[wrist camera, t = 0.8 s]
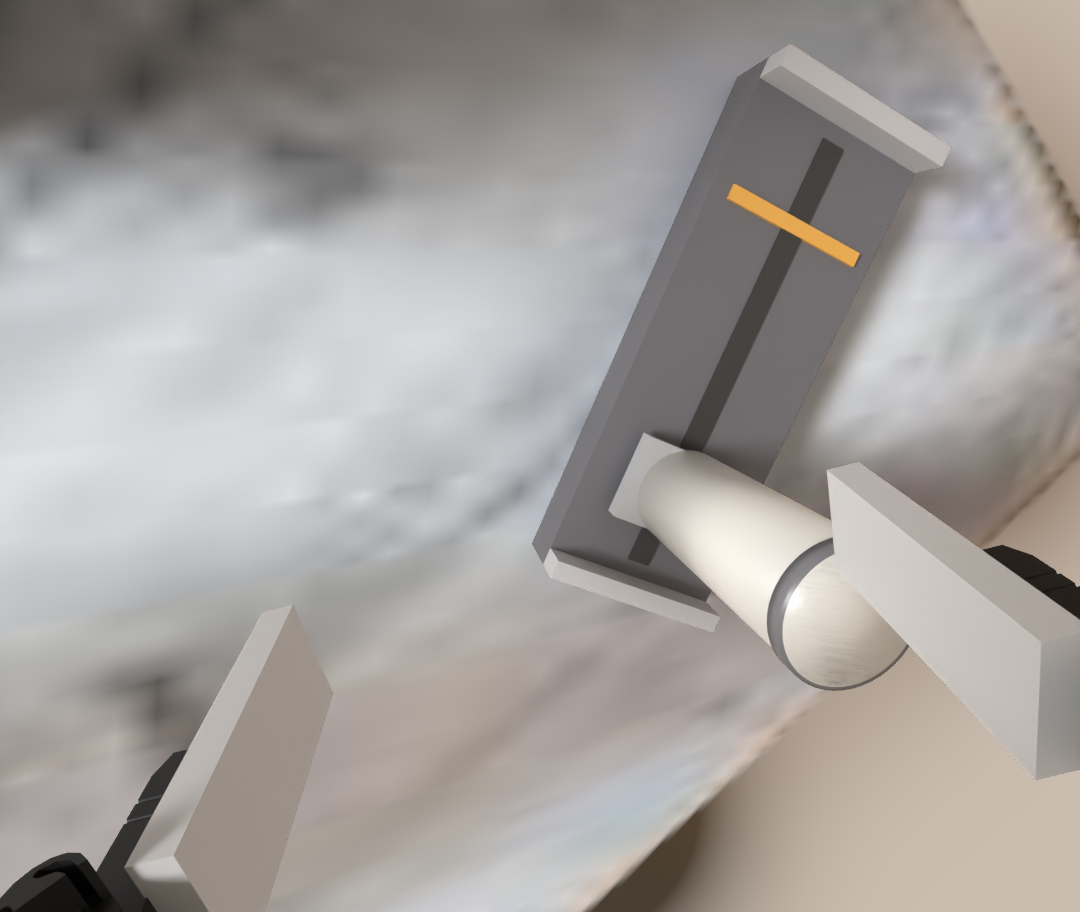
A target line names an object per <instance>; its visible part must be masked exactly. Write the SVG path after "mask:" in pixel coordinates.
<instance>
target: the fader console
mask: <svg viewBox="0 0 1080 912" xmlns="http://www.w3.org/2000/svg"><path fill="white" fill-rule="evenodd" d="M951 148H952V147H950V146H949V145H947V144H946V143H944V142H943V141H941V140H940V139H938V138H936V137H935V136H933V135H932V134H930V133H929V132H927V131H926V130H924V129H922V128H921V127H919V126H918V125H916V124H915V123H913V122H912V121H910V120H908V119H907V118H905V117H904V116H902V115H901V114H899V113H898V112H896V111H895V110H893V109H891V108H890V107H888V106H887V105H885V104H884V103H882V102H881V101H879V100H877V99H876V98H874V97H873V96H871V95H870V94H868V93H867V92H865V91H863V90H862V89H860V88H859V87H857V86H856V85H854V84H853V83H851V82H850V81H848V80H846V79H845V78H843V77H842V76H840V75H839V74H837V73H836V72H834V71H832V70H831V69H829V68H828V67H826V66H825V65H823V64H822V63H820V62H818V61H817V60H815V59H814V58H812V57H811V56H809V55H808V54H806V53H805V52H803V51H801V50H800V49H798V48H797V47H795V46H794V45H792V44H791V43H790V44H789V45H787V46H786V47H784V48H782V49H781V50H779V51H778V52H776V53H775V54H773V55H772V56H770V57H768V58H767V59H765V60H764V61H762V62H761V63H759V64H757V65H756V66H754V67H753V68H751V69H750V70H748V71H746V72H745V73H743V74H742V75H740V76H739V77H738V78H737V80H736V82H735V85H734V87H733V89H732V91H731V94H730V96H729V98H728V101H727V103H726V105H725V107H724V110H723V112H722V114H721V116H720V119H719V121H718V123H717V125H716V128H715V130H714V132H713V135H712V137H711V139H710V141H709V144H708V146H707V148H706V150H705V153H704V155H703V157H702V160H701V162H700V164H699V166H698V169H697V171H696V173H695V175H694V178H693V180H692V182H691V184H690V187H689V189H688V191H687V194H686V196H685V198H684V200H683V203H682V205H681V207H680V209H679V212H678V214H677V216H676V219H675V221H674V223H673V225H672V228H671V230H670V232H669V234H668V237H667V239H666V241H665V243H664V246H663V248H662V250H661V253H660V255H659V257H658V259H657V262H656V264H655V266H654V268H653V271H652V273H651V275H650V278H649V280H648V282H647V284H646V287H645V289H644V291H643V293H642V296H641V298H640V300H639V303H638V305H637V307H636V309H635V312H634V314H633V316H632V318H631V321H630V323H629V325H628V327H627V330H626V332H625V334H624V337H623V339H622V341H621V343H620V346H619V348H618V350H617V352H616V355H615V357H614V359H613V362H612V364H611V366H610V368H609V371H608V373H607V375H606V377H605V380H604V382H603V384H602V386H601V389H600V391H599V393H598V396H597V398H596V400H595V402H594V405H593V407H592V409H591V411H590V414H589V416H588V418H587V421H586V423H585V425H584V427H583V430H582V432H581V434H580V436H579V439H578V441H577V443H576V446H575V448H574V450H573V452H572V455H571V457H570V459H569V461H568V464H567V466H566V468H565V470H564V473H563V475H562V477H561V480H560V482H559V484H558V486H557V489H556V491H555V493H554V495H553V498H552V500H551V502H550V505H549V507H548V509H547V511H546V514H545V516H544V518H543V520H542V523H541V525H540V527H539V529H538V532H537V534H536V536H535V539H534V541H533V543H532V544H533V546H534V548H535V550H536V552H537V554H538V556H539V557H540V559H541V561H542V563H543V565H544V567H545V569H546V571H547V573H548V575H549V576H550V578H551V579H554V580H557V581H560V582H563V583H566V584H569V585H572V586H575V587H578V588H581V589H584V590H587V591H590V592H593V593H596V594H599V595H602V596H605V597H608V598H611V599H614V600H617V601H620V602H623V603H626V604H629V605H632V606H635V607H638V608H641V609H644V610H647V611H650V612H652V613H655V614H658V615H661V616H664V617H667V618H670V619H673V620H676V621H679V622H682V623H685V624H688V625H691V626H694V627H697V628H700V629H703V630H706V631H709V632H712V633H713V631H714V629H715V627H716V625H717V623H718V621H719V619H720V616H719V615H718V614H717V613H716V612H715V611H714V610H713V609H712V608H711V607H710V606H709V605H708V604H707V603H706V600H707V598H708V596H709V594H710V592H711V589H710V588H709V587H708V586H707V585H706V584H705V583H704V582H703V581H702V580H701V579H700V578H699V577H697V576H696V575H695V574H694V573H693V572H692V571H691V570H690V569H689V568H688V567H687V566H686V565H685V564H684V563H683V562H682V561H681V560H680V559H679V558H678V557H677V556H675V555H674V554H673V553H672V552H671V551H670V550H669V549H668V548H667V547H666V546H665V545H664V544H663V543H662V542H661V541H660V540H659V539H658V538H657V537H656V536H655V535H653V534H652V533H651V532H650V531H649V530H648V529H647V528H644V527H641V526H639V525H636V524H633V523H631V522H628V521H625V520H623V519H620V518H617V517H615V516H613V515H612V514H611V513H610V512H609V511H608V510H609V508H610V505H611V503H612V501H613V499H614V497H615V494H616V492H617V490H618V488H619V486H620V483H621V481H622V479H623V477H624V475H625V472H626V470H627V468H628V466H629V464H630V461H631V459H632V457H633V455H634V453H635V450H636V448H637V446H638V444H639V442H640V439H641V437H642V435H643V433H646V434H649V435H651V436H654V437H656V438H658V439H661V440H663V441H666V442H668V443H670V444H673V445H675V446H678V447H680V448H682V449H685V450H692V451H698V452H702V453H704V454H706V455H708V456H710V457H712V458H714V459H716V460H718V461H720V462H722V463H723V464H725V465H727V466H729V467H731V468H733V469H735V470H737V471H739V472H741V473H742V474H744V475H746V476H748V477H750V478H752V479H754V480H756V481H758V482H759V483H761V484H763V483H764V481H765V479H766V477H767V475H768V473H769V471H770V469H771V467H772V465H773V463H774V461H775V459H776V457H777V455H778V453H779V451H780V448H781V446H782V444H783V442H784V440H785V438H786V436H787V434H788V432H789V430H790V428H791V426H792V424H793V422H794V420H795V418H796V416H797V414H798V412H799V409H800V407H801V405H802V403H803V401H804V399H805V397H806V395H807V393H808V391H809V389H810V387H811V385H812V383H813V381H814V379H815V377H816V375H817V373H818V370H819V368H820V366H821V364H822V362H823V360H824V358H825V356H826V354H827V352H828V350H829V348H830V346H831V344H832V342H833V340H834V338H835V336H836V334H837V331H838V329H839V327H840V325H841V323H842V321H843V319H844V317H845V315H846V313H847V311H848V309H849V307H850V305H851V303H852V301H853V299H854V297H855V295H856V292H857V290H858V288H859V286H860V284H861V282H862V280H863V278H864V276H865V274H866V272H867V270H868V268H869V266H870V264H871V262H872V260H873V258H874V256H875V253H876V251H877V249H878V247H879V245H880V243H881V241H882V239H883V237H884V235H885V233H886V231H887V229H888V227H889V225H890V223H891V221H892V219H893V217H894V214H895V212H896V210H897V208H898V206H899V204H900V202H901V200H902V198H903V196H904V194H905V192H906V190H907V188H908V186H909V184H910V182H911V180H912V178H913V175H914V173H918V172H922V171H927V170H931V169H935V168H940V167H942V166H943V164H944V162H945V160H946V158H947V156H948V154H949V152H950V150H951Z"/></svg>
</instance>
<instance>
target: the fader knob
mask: <svg viewBox="0 0 1080 912" xmlns="http://www.w3.org/2000/svg"><path fill="white" fill-rule="evenodd" d="M608 511H609V512H610V513H611V514H612V515H613V516H615V517H617V518H620V519H623V520H625V521H628V522H631V523H633V524H636V525H639V526H641V527H644V528H647V529H648V530H649V531H650V532H651V533H652V534H653V535H655V536H656V537H657V538H658V539H659V540H660V541H661V542H662V543H663V544H664V545H665V546H666V547H667V548H668V549H669V550H670V551H671V552H672V553H673V554H674V555H675V556H677V557H678V558H679V559H680V560H681V561H682V562H683V563H684V564H685V565H686V566H687V567H688V568H689V569H690V570H691V571H692V572H693V573H694V574H695V575H696V576H697V577H699V578H700V579H701V580H702V581H703V582H704V583H705V584H706V585H707V586H708V587H709V588H710V589H711V590H712V591H713V592H714V593H715V594H716V595H717V596H718V597H719V598H720V599H722V600H723V601H724V602H725V603H726V604H727V605H728V606H729V607H730V608H731V609H732V610H733V611H734V612H735V613H736V614H737V615H738V616H739V617H740V618H741V619H742V620H744V621H745V622H746V623H747V624H748V625H749V626H750V627H751V628H752V629H753V630H754V631H755V632H756V633H757V634H758V635H759V636H760V637H761V638H762V639H763V640H764V641H766V642H767V643H768V644H769V645H770V646H771V647H772V649H773V650H774V652H775V654H776V655H777V657H778V658H779V659H780V660H781V662H782V663H783V664H784V665H785V666H786V667H787V668H788V669H789V670H790V671H791V672H792V673H794V674H795V675H796V676H797V677H798V678H799V679H800V680H802V681H803V682H805V683H807V684H808V685H811V686H813V687H815V688H819V689H823V690H832V691H837V690H846V689H852V688H856V687H859V686H862V685H864V684H866V683H869V682H871V681H873V680H874V679H876V678H878V677H879V676H881V675H882V674H884V673H885V672H886V671H887V670H889V669H890V668H891V667H892V666H893V665H894V664H895V663H896V662H897V661H898V660H899V659H900V658H901V657H902V655H903V654H904V653H905V651H906V650H907V649H908V647H909V645H908V644H907V643H906V642H905V641H904V640H903V639H902V638H901V637H900V636H899V635H898V633H897V632H896V631H895V630H894V629H893V628H892V627H891V626H890V625H889V624H888V623H887V622H886V621H885V620H884V619H883V617H882V616H881V615H880V614H879V613H878V612H877V611H876V610H875V609H874V608H873V607H872V606H871V605H870V604H869V603H868V602H867V600H866V599H865V598H864V597H863V596H862V595H861V594H860V593H859V592H858V591H857V590H856V589H855V588H854V587H853V586H852V585H851V583H850V582H849V581H848V580H847V579H846V578H845V577H844V576H843V575H842V574H841V573H840V572H839V571H838V570H837V569H836V565H835V555H834V544H833V533H832V522H831V520H829V519H827V518H826V517H824V516H822V515H820V514H818V513H816V512H814V511H812V510H810V509H809V508H807V507H805V506H803V505H801V504H799V503H797V502H795V501H793V500H792V499H790V498H788V497H786V496H784V495H782V494H780V493H778V492H776V491H775V490H773V489H771V488H769V487H767V486H765V485H763V484H761V483H759V482H758V481H756V480H754V479H752V478H750V477H748V476H746V475H744V474H742V473H741V472H739V471H737V470H735V469H733V468H731V467H729V466H727V465H725V464H723V463H722V462H720V461H718V460H716V459H714V458H712V457H710V456H708V455H706V454H704V453H702V452H698V451H692V450H685V449H682V448H680V447H678V446H675V445H673V444H670V443H668V442H666V441H663V440H661V439H658V438H656V437H654V436H651V435H649V434H646V433H643V435H642V437H641V439H640V442H639V444H638V446H637V448H636V450H635V453H634V455H633V457H632V459H631V461H630V464H629V466H628V468H627V470H626V472H625V475H624V477H623V479H622V481H621V483H620V486H619V488H618V490H617V492H616V494H615V497H614V499H613V501H612V503H611V505H610V508H609V510H608Z"/></svg>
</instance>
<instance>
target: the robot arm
mask: <svg viewBox="0 0 1080 912" xmlns="http://www.w3.org/2000/svg"><path fill="white" fill-rule="evenodd" d="M827 478H828V489H829V500H830V511H831V522H832V533H833V544H834V555H835V565H836V569H837V570H838V571H839V572H840V573H841V574H842V575H843V576H844V577H845V578H846V579H847V580H848V581H849V582H850V583H851V585H852V586H853V587H854V588H855V589H856V590H857V591H858V592H859V593H860V594H861V595H862V596H863V597H864V598H865V599H866V600H867V602H868V603H869V604H870V605H871V606H872V607H873V608H874V609H875V610H876V611H877V612H878V613H879V614H880V615H881V616H882V617H883V619H884V620H885V621H886V622H887V623H888V624H889V625H890V626H891V627H892V628H893V629H894V630H895V631H896V632H897V633H898V635H899V636H900V637H901V638H902V639H903V640H904V641H905V642H906V643H907V644H908V645H909V646H910V647H911V648H912V649H913V650H914V652H915V653H916V654H917V655H918V656H919V657H920V658H921V659H922V660H923V661H924V662H925V663H926V664H927V665H928V666H929V667H930V669H931V670H932V671H933V672H934V673H935V674H936V675H937V676H938V677H939V678H940V679H941V680H942V681H943V682H944V683H945V685H947V686H948V688H949V689H950V690H951V691H952V692H953V693H954V694H955V695H956V696H957V697H958V698H959V699H960V700H961V702H962V703H963V704H964V705H965V706H966V707H967V708H968V709H969V710H970V711H971V712H972V713H973V714H974V715H975V716H976V717H977V718H978V720H979V721H980V722H981V723H982V724H983V725H984V726H985V727H986V728H987V729H988V730H989V731H990V732H991V733H992V735H993V736H994V737H995V738H996V739H997V740H998V741H999V742H1000V743H1001V744H1002V745H1003V746H1004V747H1005V748H1006V749H1007V750H1008V752H1009V753H1010V754H1011V755H1012V756H1013V757H1014V758H1015V759H1016V760H1017V761H1018V762H1019V763H1020V764H1021V765H1022V766H1023V767H1024V768H1025V770H1026V771H1027V772H1028V773H1029V774H1030V775H1031V776H1032V777H1033V778H1034V779H1035V780H1039V779H1042V778H1047V777H1051V776H1055V775H1059V774H1064V773H1067V772H1072V771H1076V770H1080V586H1079V587H1076V585H1075V583H1074V582H1072V581H1071V580H1069V579H1068V578H1066V577H1065V576H1063V575H1062V574H1057V573H1056V571H1055V570H1054V569H1053V568H1051V567H1049V566H1048V565H1047V564H1045V563H1043V562H1042V561H1040V560H1039V559H1037V558H1036V557H1034V556H1033V555H1030V554H1027V553H1024V552H1021V551H1018V550H1015V549H1013V548H1009V547H1007V546H1004V545H1000V546H996V547H992V548H988V549H984V550H981V549H980V548H979V547H977V546H976V545H974V544H973V543H972V542H970V541H969V540H967V539H966V538H965V537H963V536H962V535H960V534H959V533H958V532H956V531H955V530H953V529H952V528H951V527H949V526H948V525H946V524H945V523H943V522H942V521H941V520H939V519H938V518H936V517H935V516H934V515H932V514H931V513H929V512H928V511H927V510H925V509H924V508H922V507H921V506H920V505H918V504H917V503H915V502H914V501H913V500H911V499H910V498H908V497H907V496H906V495H904V494H903V493H901V492H900V491H899V490H897V489H896V488H894V487H893V486H892V485H890V484H889V483H887V482H886V481H885V480H883V479H882V478H880V477H879V476H878V475H876V474H875V473H873V472H872V471H871V470H869V469H868V468H866V467H865V466H864V465H862V464H861V463H859V462H856V463H852V464H848V465H844V466H840V467H836V468H832V469H828V470H827ZM332 695H333V692H332V689H331V687H330V685H329V683H328V681H327V678H326V676H325V674H324V672H323V670H322V667H321V665H320V663H319V661H318V658H317V656H316V654H315V652H314V650H313V647H312V645H311V643H310V641H309V638H308V636H307V634H306V632H305V630H304V627H303V625H302V623H301V621H300V619H299V616H298V614H297V612H296V610H295V607H294V605H289V606H285V607H281V608H277V609H273V610H269V611H265V612H262V614H261V616H260V618H259V620H258V621H257V623H256V625H255V627H254V629H253V631H252V632H251V634H250V636H249V638H248V640H247V642H246V644H245V645H244V647H243V649H242V651H241V653H240V655H239V656H238V658H237V660H236V662H235V664H234V666H233V668H232V669H231V671H230V673H229V675H228V677H227V679H226V680H225V682H224V684H223V686H222V688H221V690H220V692H219V693H218V695H217V697H216V699H215V701H214V703H213V704H212V706H211V708H210V710H209V712H208V714H207V716H206V717H205V719H204V721H203V723H202V725H201V727H200V728H199V730H198V732H197V734H196V736H195V738H194V739H193V741H192V743H191V745H190V747H189V749H187V750H183V751H179V752H175V753H173V754H172V755H171V756H170V757H169V759H168V760H167V761H166V762H165V763H164V764H163V765H162V766H161V767H160V768H159V769H158V770H157V771H156V772H155V773H154V774H153V775H152V777H151V779H150V780H149V782H148V784H147V785H146V787H145V789H144V791H143V792H142V794H141V796H140V798H139V799H138V801H139V803H138V804H136V805H135V806H134V808H133V810H132V811H131V813H130V815H129V817H128V818H127V824H124V825H123V827H122V829H121V830H120V832H119V834H118V836H117V837H116V839H115V841H114V842H113V844H112V846H111V848H110V849H109V851H108V853H107V854H106V856H105V858H104V860H103V861H102V863H101V865H100V867H99V868H98V870H97V872H96V871H95V870H94V869H93V867H92V866H91V864H90V863H89V862H88V860H87V859H86V858H85V857H84V856H83V855H82V854H81V853H65V854H62V855H59V856H56V857H53V858H50V859H49V860H47V861H45V862H43V863H42V864H40V865H38V866H36V867H35V868H33V869H31V870H30V871H29V872H28V873H26V874H25V875H24V876H23V877H21V878H20V879H19V880H18V881H16V882H15V883H14V884H13V885H12V886H11V887H10V888H9V889H8V890H7V892H6V893H5V894H4V895H3V896H2V897H1V898H0V912H265V910H266V907H267V904H268V901H269V898H270V894H271V891H272V888H273V885H274V881H275V878H276V875H277V872H278V869H279V865H280V862H281V859H282V856H283V853H284V849H285V846H286V843H287V840H288V836H289V833H290V830H291V827H292V824H293V820H294V817H295V814H296V811H297V808H298V804H299V801H300V798H301V795H302V791H303V788H304V785H305V782H306V779H307V775H308V772H309V769H310V766H311V763H312V759H313V756H314V753H315V750H316V746H317V743H318V740H319V737H320V734H321V730H322V727H323V724H324V721H325V718H326V714H327V711H328V708H329V705H330V701H331V698H332Z"/></svg>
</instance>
